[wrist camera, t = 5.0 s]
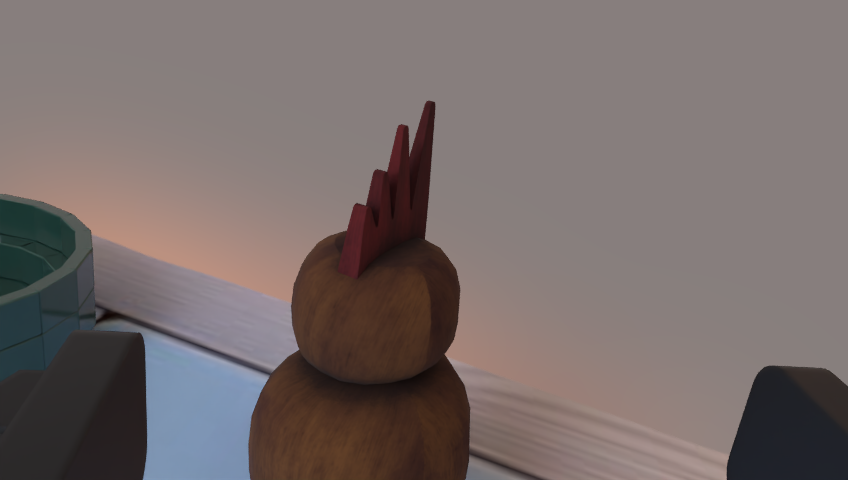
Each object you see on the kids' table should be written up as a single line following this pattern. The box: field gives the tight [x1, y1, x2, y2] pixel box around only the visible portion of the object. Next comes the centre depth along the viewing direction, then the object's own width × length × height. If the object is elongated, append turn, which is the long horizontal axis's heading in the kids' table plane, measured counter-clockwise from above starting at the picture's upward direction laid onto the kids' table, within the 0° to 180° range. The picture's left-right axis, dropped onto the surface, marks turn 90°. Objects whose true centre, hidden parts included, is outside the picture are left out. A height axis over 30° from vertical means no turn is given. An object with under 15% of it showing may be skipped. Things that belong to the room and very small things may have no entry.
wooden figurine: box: [249, 101, 470, 480], centre depth 22 cm, size 7×6×15 cm
